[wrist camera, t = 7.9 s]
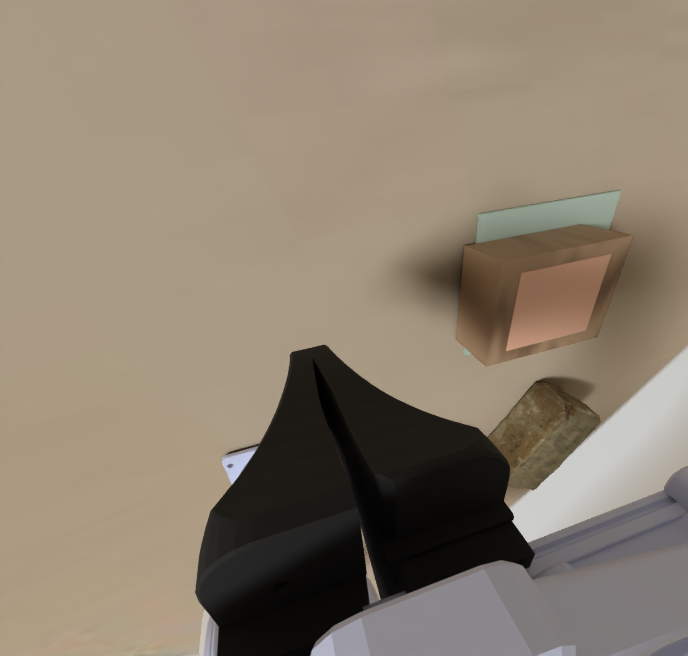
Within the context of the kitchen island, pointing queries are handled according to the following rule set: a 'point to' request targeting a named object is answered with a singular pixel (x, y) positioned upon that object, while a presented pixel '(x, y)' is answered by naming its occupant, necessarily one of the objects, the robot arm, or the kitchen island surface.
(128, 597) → the kitchen island surface
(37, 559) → the kitchen island surface
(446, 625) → the robot arm
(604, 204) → the mat
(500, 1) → the kitchen island surface
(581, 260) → the walnut block
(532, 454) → the stone block
